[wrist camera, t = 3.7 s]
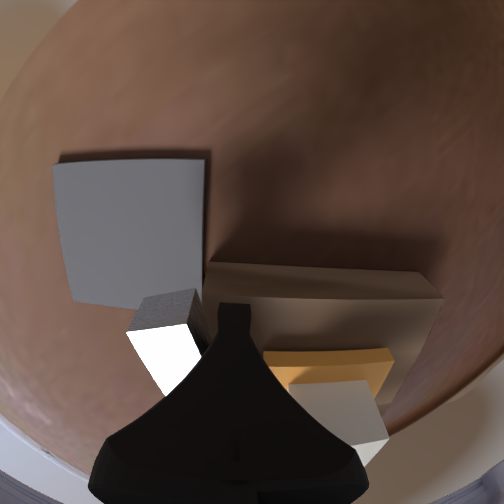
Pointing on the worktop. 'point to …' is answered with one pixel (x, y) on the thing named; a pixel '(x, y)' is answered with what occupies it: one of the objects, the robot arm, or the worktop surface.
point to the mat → (130, 227)
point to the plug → (338, 391)
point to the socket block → (330, 311)
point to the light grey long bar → (170, 335)
